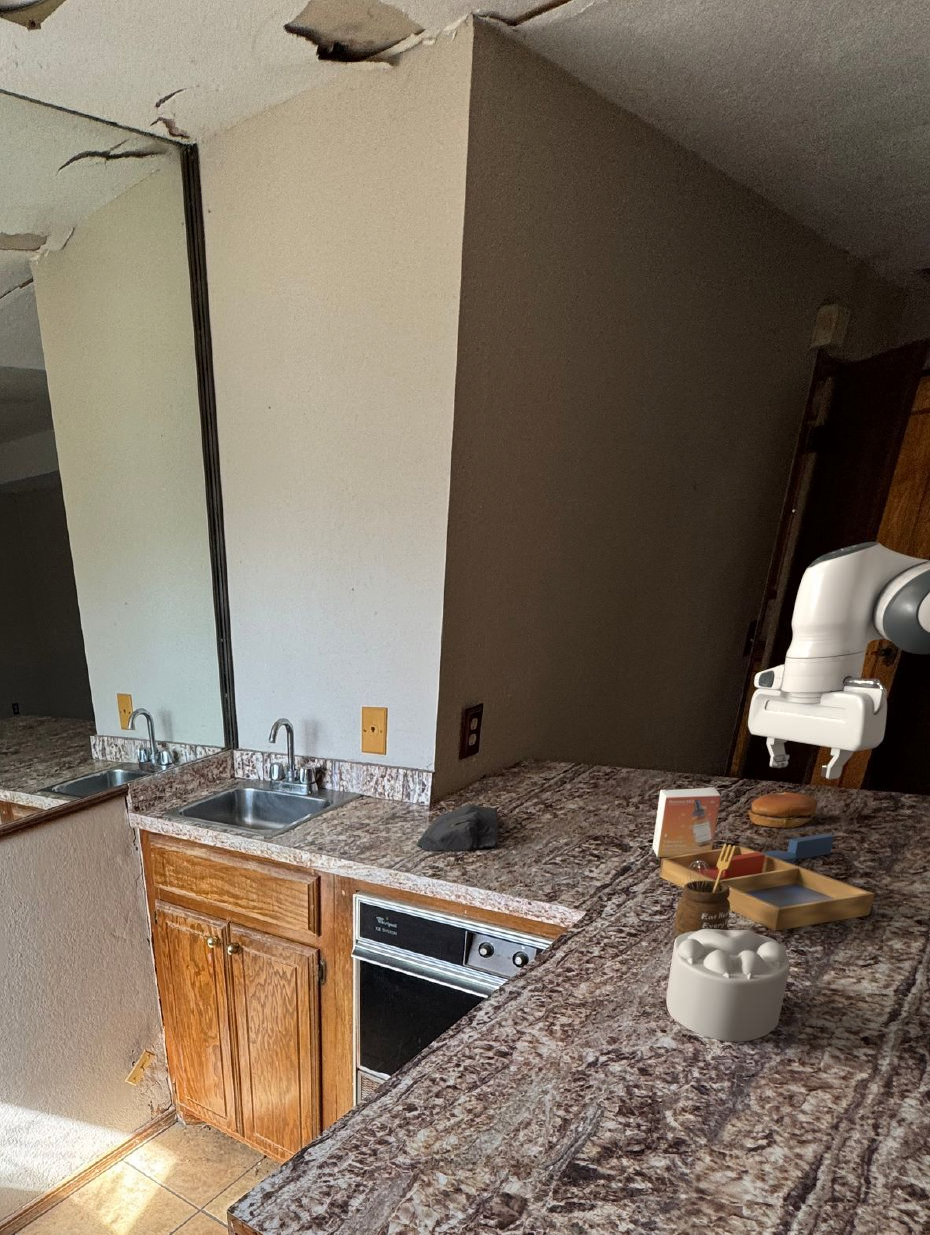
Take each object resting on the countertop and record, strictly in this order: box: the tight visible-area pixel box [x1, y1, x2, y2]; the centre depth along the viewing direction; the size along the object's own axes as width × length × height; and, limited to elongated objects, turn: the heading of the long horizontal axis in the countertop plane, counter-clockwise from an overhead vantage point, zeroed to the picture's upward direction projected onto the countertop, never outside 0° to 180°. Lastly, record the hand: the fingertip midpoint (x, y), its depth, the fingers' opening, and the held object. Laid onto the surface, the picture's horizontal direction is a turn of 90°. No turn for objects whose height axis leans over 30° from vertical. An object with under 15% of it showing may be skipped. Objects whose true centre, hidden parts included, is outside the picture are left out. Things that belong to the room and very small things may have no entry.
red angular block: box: [696, 851, 765, 880], centre depth 119 cm, size 10×4×3 cm, turn 95°
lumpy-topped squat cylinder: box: [665, 929, 791, 1043], centre depth 87 cm, size 10×13×9 cm
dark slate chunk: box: [415, 804, 500, 852], centre depth 158 cm, size 15×22×5 cm
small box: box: [652, 786, 722, 858], centre depth 131 cm, size 8×6×10 cm
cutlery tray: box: [658, 845, 875, 932], centre depth 114 cm, size 13×24×3 cm, turn 5°
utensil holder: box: [674, 843, 737, 937], centre depth 103 cm, size 6×6×12 cm
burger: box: [747, 791, 818, 829], centre depth 139 cm, size 10×9×5 cm
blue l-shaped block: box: [762, 832, 835, 864], centre depth 124 cm, size 10×4×3 cm, turn 95°
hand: (803, 772), depth 116 cm, fingers open, 8 cm apart
